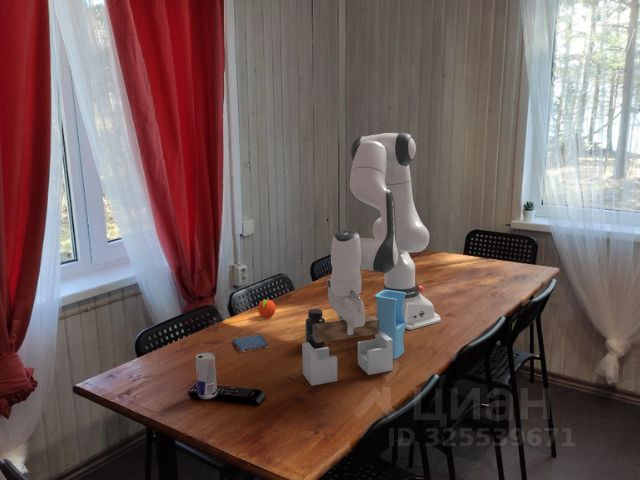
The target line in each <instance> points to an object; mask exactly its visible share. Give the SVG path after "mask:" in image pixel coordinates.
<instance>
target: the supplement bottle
mask: <svg viewBox="0 0 640 480" xmlns="http://www.w3.org/2000/svg"><path fill="white" fill-rule="evenodd" d="M323 316H324V315H323V310H322V309H320V308H311V309H309V310H308V311H307V318H306V319H305V327H304V329H305V343H307V342H309V343H310V345H311V346H312V347H313V348H314V349H318V348H323V347H324V346H325V345H326V342H320V343H316V342H315V341H314V340H313V328H312V324H318V323H326V320H325V318H324V317H323Z"/></svg>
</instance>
